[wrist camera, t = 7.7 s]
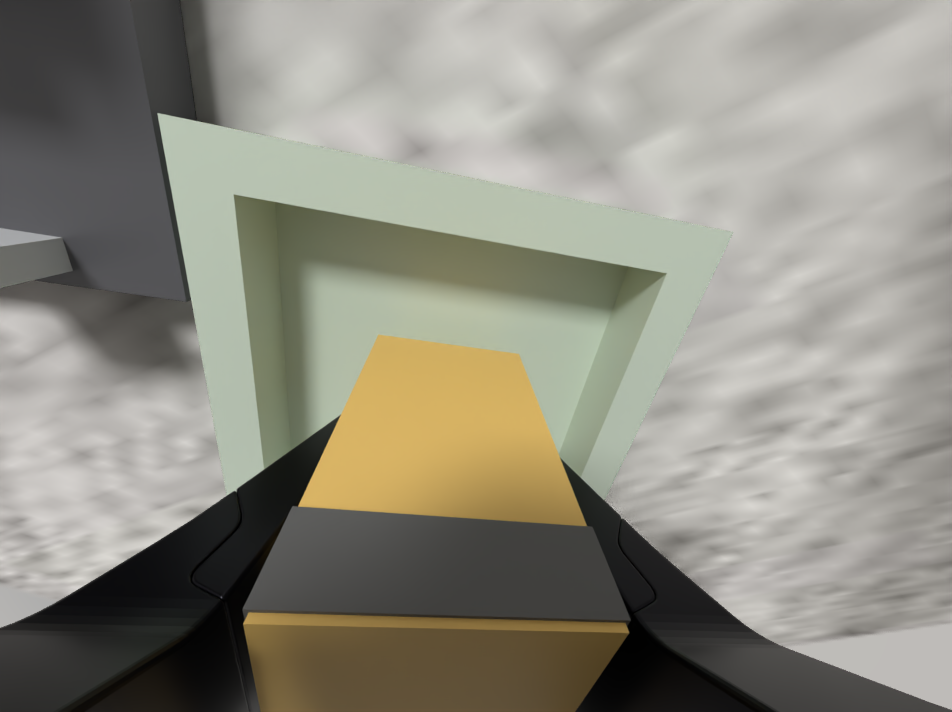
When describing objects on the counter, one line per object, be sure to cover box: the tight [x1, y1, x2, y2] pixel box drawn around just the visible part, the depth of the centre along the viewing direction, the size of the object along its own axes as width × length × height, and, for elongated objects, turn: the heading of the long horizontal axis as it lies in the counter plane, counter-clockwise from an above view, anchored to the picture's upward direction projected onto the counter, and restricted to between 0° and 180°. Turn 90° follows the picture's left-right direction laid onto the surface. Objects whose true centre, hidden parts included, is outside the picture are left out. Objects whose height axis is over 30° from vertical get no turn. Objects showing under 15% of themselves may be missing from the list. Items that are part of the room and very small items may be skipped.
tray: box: [157, 113, 733, 500], centre depth 11 cm, size 12×12×2 cm
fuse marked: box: [243, 334, 631, 712], centre depth 8 cm, size 4×4×7 cm
